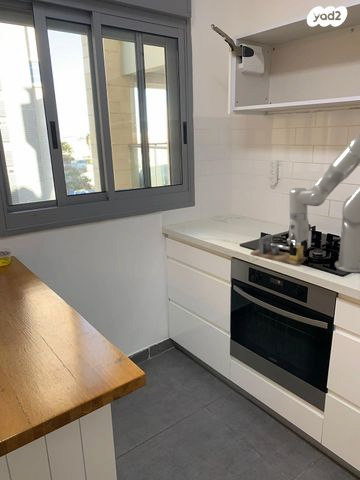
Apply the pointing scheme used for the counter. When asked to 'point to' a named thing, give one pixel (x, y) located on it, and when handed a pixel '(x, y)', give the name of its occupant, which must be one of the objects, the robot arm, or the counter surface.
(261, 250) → the grey arch
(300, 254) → the hook rod
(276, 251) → the cradle
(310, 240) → the jar
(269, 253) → the board
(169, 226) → the counter surface
